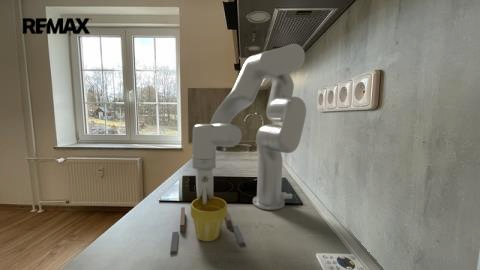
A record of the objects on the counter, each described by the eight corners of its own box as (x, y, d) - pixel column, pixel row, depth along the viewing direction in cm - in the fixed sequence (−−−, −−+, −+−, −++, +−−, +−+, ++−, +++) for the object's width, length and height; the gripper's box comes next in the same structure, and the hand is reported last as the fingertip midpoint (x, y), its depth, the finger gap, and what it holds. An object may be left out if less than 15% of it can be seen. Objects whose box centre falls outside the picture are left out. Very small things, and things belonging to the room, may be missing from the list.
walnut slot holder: (224, 210, 80) (224, 204, 80) (230, 227, 69) (230, 220, 69) (181, 214, 77) (181, 207, 77) (180, 232, 65) (180, 225, 65)
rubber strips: (237, 227, 69) (237, 225, 69) (244, 245, 60) (244, 242, 60) (172, 234, 64) (172, 232, 64) (170, 254, 56) (170, 251, 56)
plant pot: (225, 224, 70) (226, 195, 69) (226, 245, 60) (227, 212, 59) (192, 225, 69) (193, 195, 68) (187, 246, 59) (188, 212, 58)
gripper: (218, 168, 64) (217, 227, 66) (213, 157, 78) (212, 206, 80) (192, 168, 62) (191, 230, 64) (192, 157, 77) (191, 207, 78)
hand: (203, 216), depth 72 cm, fingers closed
